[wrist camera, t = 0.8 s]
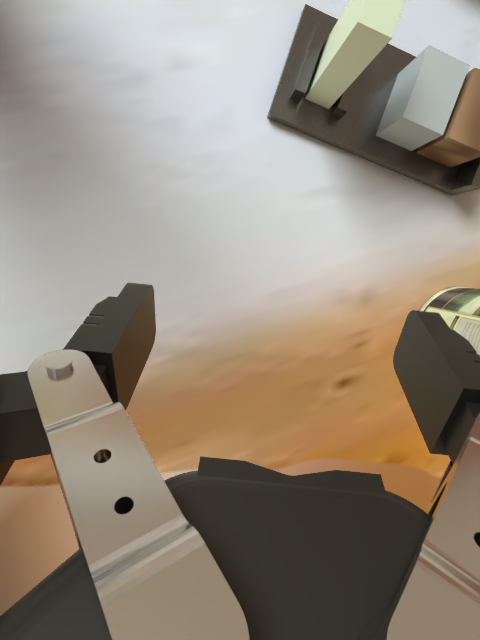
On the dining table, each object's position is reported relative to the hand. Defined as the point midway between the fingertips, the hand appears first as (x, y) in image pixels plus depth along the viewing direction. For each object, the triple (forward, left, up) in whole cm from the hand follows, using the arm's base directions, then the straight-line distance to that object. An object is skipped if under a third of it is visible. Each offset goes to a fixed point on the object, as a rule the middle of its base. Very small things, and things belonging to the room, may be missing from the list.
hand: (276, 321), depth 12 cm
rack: (-10, +21, -27) cm, 36 cm away
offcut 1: (-9, +23, -26) cm, 36 cm away
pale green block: (-14, +16, -26) cm, 34 cm away
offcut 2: (-6, +26, -26) cm, 38 cm away
